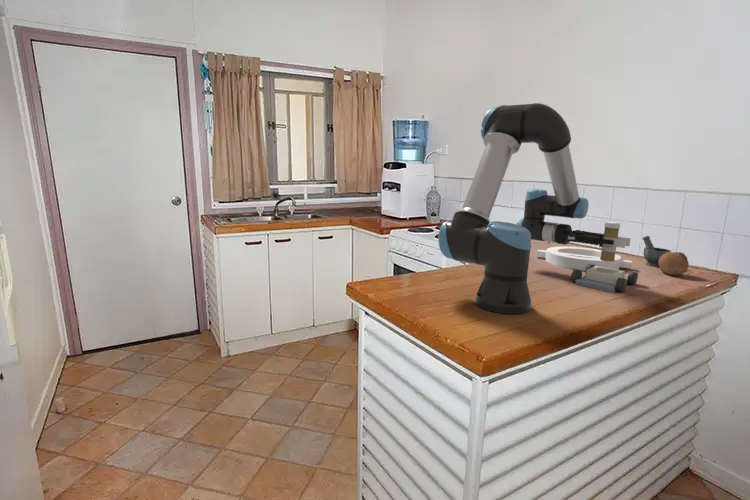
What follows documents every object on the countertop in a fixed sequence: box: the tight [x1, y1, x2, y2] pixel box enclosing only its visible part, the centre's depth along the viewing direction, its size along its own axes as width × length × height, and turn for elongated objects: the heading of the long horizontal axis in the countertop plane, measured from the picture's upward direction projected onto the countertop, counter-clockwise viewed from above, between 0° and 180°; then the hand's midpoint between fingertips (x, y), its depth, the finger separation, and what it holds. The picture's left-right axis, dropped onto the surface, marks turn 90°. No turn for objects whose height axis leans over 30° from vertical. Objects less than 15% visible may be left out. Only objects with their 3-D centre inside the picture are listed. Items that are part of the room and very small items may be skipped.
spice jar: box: [600, 220, 621, 262], centre depth 143 cm, size 5×5×13 cm
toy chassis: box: [570, 264, 639, 293], centre depth 145 cm, size 20×16×4 cm
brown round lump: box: [658, 251, 690, 277], centre depth 160 cm, size 10×9×10 cm
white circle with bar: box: [535, 246, 633, 272], centre depth 175 cm, size 28×28×5 cm
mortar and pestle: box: [641, 235, 672, 268], centre depth 175 cm, size 11×9×12 cm
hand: (627, 243), depth 139 cm, fingers closed on spice jar, 4 cm apart
